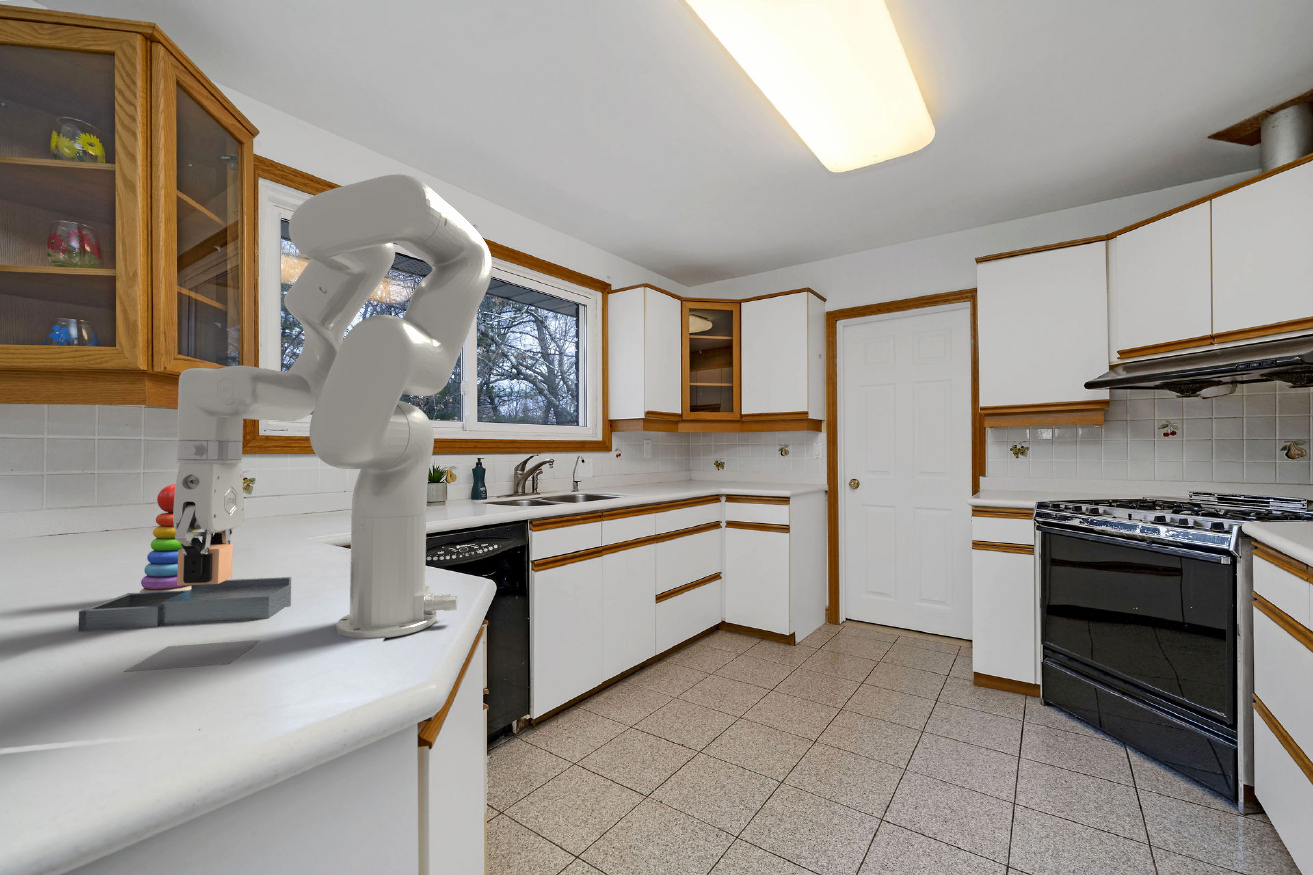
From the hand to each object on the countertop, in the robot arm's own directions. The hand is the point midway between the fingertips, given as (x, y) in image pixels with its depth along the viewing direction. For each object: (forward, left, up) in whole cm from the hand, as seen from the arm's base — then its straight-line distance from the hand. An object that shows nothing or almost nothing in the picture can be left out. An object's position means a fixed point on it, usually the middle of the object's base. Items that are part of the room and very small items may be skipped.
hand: (206, 577), depth 81 cm
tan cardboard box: (0, 0, -1) cm, 1 cm away
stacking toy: (+11, -14, -6) cm, 19 cm away
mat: (-8, +18, -6) cm, 20 cm away
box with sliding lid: (+1, 0, -6) cm, 6 cm away
